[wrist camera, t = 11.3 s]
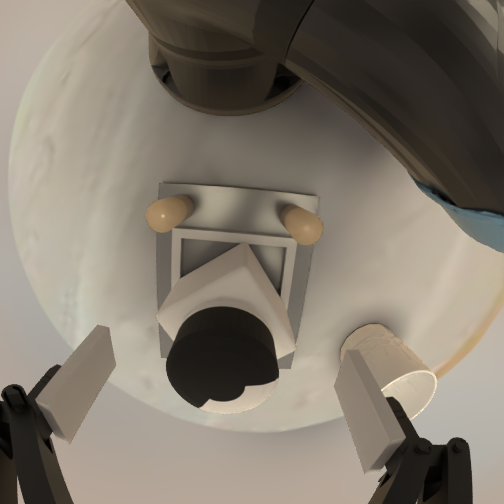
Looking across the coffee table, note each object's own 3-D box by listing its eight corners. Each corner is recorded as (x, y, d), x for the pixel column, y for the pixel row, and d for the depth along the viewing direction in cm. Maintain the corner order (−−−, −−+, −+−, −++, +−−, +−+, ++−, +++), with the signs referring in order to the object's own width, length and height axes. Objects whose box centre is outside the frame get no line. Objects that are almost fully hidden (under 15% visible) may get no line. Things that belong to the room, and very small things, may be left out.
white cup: (340, 382, 30) (364, 441, 21) (328, 333, 28) (359, 395, 19) (396, 358, 30) (433, 409, 20) (392, 308, 28) (440, 356, 18)
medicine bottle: (176, 279, 24) (126, 359, 12) (245, 239, 23) (245, 299, 12) (219, 340, 26) (205, 438, 14) (286, 306, 25) (313, 399, 13)
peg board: (163, 182, 24) (132, 185, 17) (316, 196, 25) (342, 202, 18) (163, 351, 28) (145, 393, 22) (289, 362, 29) (298, 407, 22)
